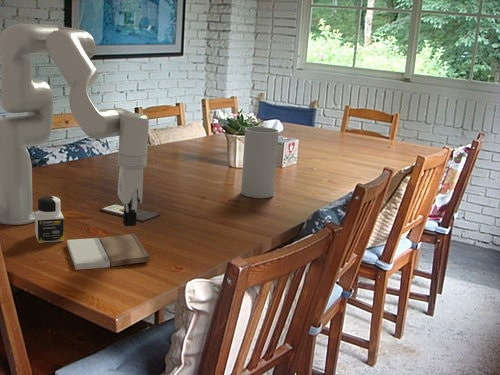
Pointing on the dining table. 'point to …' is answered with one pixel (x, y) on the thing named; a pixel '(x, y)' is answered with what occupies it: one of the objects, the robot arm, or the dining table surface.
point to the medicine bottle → (49, 220)
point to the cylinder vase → (259, 162)
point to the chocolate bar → (140, 214)
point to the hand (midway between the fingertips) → (129, 224)
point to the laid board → (88, 253)
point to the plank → (124, 250)
